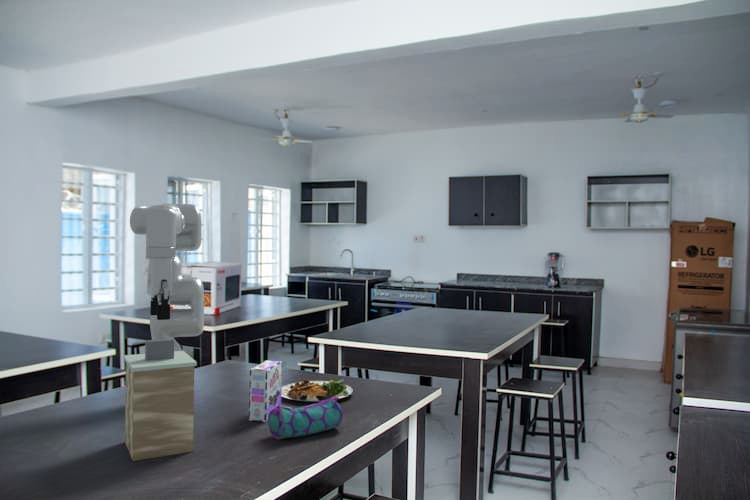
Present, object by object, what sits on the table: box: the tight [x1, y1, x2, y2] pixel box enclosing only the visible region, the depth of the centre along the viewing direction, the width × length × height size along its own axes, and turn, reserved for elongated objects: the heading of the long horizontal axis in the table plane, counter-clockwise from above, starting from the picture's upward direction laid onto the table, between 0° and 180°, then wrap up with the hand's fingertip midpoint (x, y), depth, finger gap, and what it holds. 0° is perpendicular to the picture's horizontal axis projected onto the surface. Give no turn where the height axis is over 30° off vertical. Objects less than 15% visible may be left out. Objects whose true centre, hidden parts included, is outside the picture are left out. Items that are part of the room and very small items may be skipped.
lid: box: [123, 339, 198, 372], centre depth 159 cm, size 16×16×7 cm
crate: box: [124, 362, 195, 462], centre depth 159 cm, size 15×15×23 cm
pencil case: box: [267, 396, 344, 440], centre depth 173 cm, size 21×9×10 cm, turn 126°
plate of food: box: [281, 378, 354, 403], centre depth 213 cm, size 28×28×6 cm
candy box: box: [248, 359, 283, 423], centre depth 188 cm, size 14×6×16 cm, turn 168°
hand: (160, 317), depth 158 cm, fingers open, 9 cm apart
